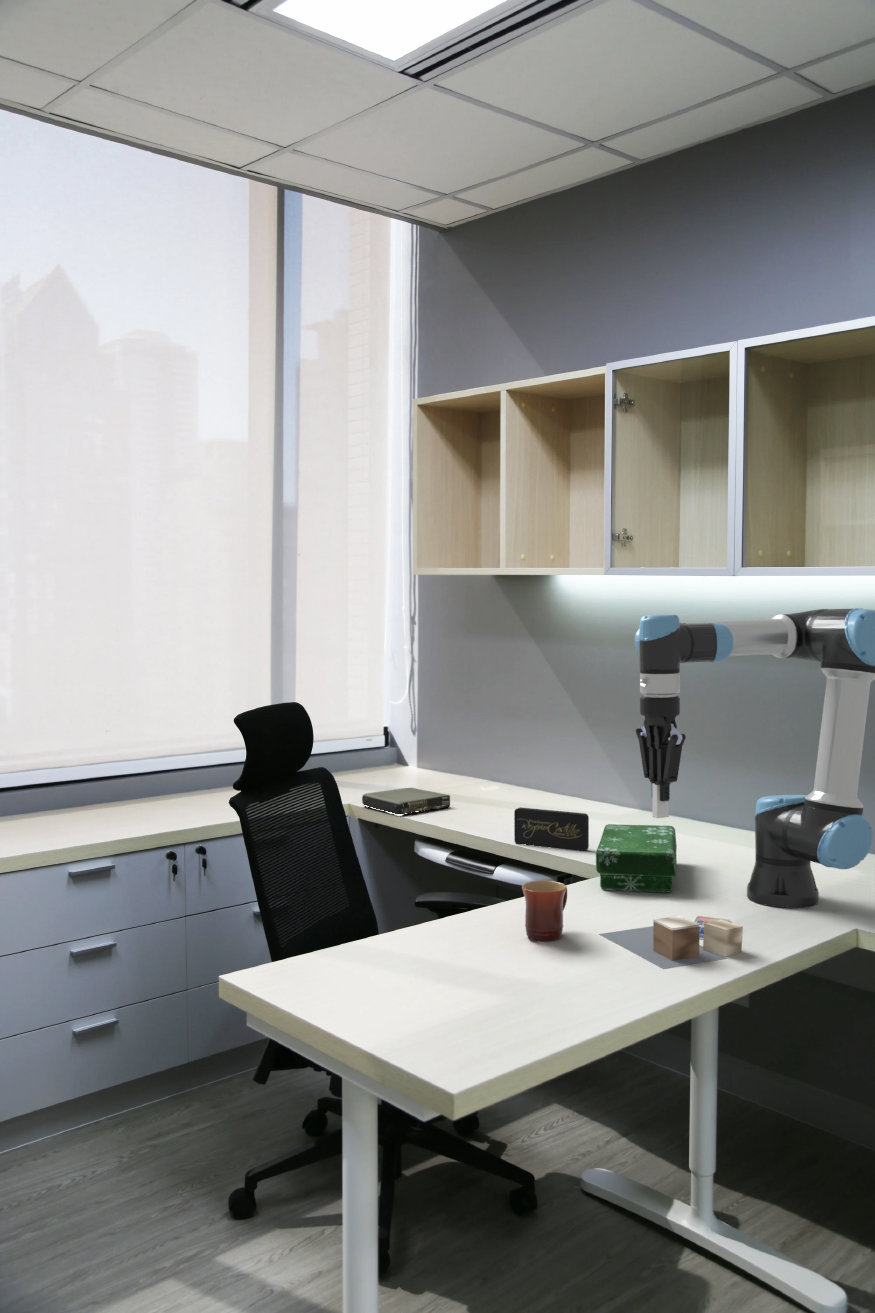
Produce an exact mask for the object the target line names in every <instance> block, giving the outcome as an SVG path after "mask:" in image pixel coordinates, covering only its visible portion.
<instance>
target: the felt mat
mask: <svg viewBox="0 0 875 1313" xmlns="http://www.w3.org/2000/svg"><path fill="white" fill-rule="evenodd" d="M598 935H599V936H601V937H603V938H605V939H607V940H608V941H610V942H612V943H614V944H616V945H618V946H619V947H622V948H623V949H624V950H625V949H626V950H627V951H628V952H631V953H632V954H635V955H637V957H641V958H642V959H643V960H646V961H648V962H649V963H652V964H653V965H655V966H656V967H658V968H660V969H663V970H667V969H673V968H678V967H684V966H691V965H697V964H703V963H709V962H713V961H714V962H715V961H721V960H727V959H728V958H727V956H725V957H724V956H721V955H718V954H715V953H712V952H709V951H706V950H703V946H702V945H700V944H699V956H698V957H692V958H686V959H680V960H673V961H672V960H670V959H668V958H666V957H664V956H662V955H660V954H658V953H656V952H654V951H653V925H651V926H645V927H637V928H631V929H624V930H618V931H616V930H615V931H610V932H604V933H598Z"/></svg>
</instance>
